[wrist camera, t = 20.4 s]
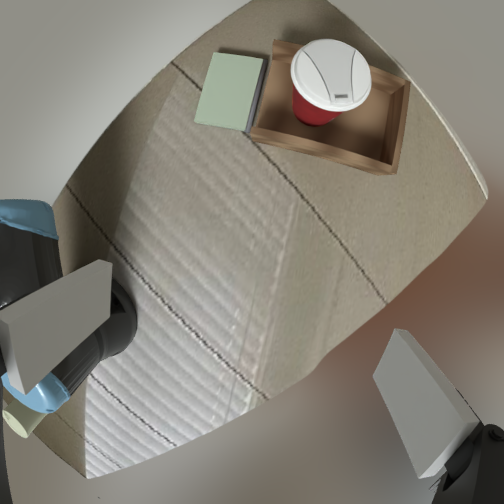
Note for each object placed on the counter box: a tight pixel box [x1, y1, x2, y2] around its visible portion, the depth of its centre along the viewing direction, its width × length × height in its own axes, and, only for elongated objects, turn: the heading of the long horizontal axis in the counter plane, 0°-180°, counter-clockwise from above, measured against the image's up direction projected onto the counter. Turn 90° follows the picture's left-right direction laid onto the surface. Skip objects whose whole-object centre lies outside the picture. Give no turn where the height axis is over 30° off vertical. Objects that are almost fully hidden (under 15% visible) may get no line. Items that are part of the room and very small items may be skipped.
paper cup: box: [291, 39, 371, 127], centre depth 28 cm, size 8×8×14 cm
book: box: [194, 52, 268, 133], centre depth 35 cm, size 2×11×8 cm
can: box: [3, 398, 48, 438], centre depth 47 cm, size 9×9×12 cm
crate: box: [250, 39, 410, 175], centre depth 33 cm, size 18×13×6 cm
